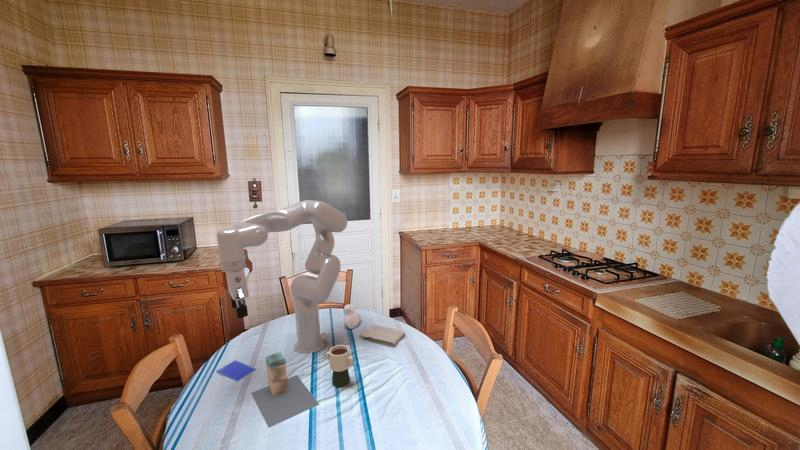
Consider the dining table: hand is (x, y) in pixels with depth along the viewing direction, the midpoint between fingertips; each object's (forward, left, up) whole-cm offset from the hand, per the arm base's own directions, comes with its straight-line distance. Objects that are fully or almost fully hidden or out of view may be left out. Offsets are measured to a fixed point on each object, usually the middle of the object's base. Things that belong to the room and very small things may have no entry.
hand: (240, 311), depth 119 cm
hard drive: (+2, -9, -28) cm, 30 cm away
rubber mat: (-7, +18, -27) cm, 33 cm away
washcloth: (-56, +4, -28) cm, 63 cm away
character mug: (-26, +22, -27) cm, 44 cm away
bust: (-51, -15, -27) cm, 60 cm away
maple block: (-7, +12, -27) cm, 30 cm away
